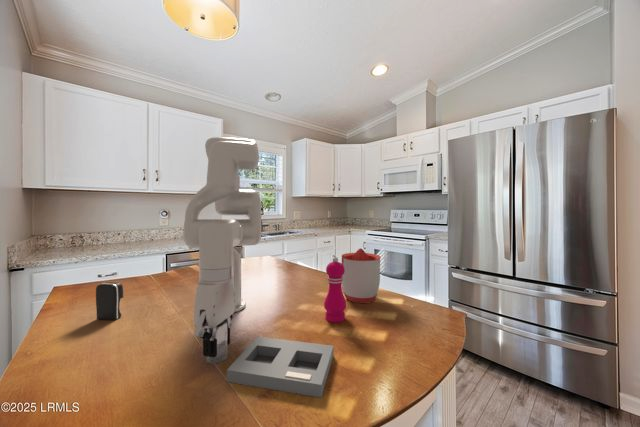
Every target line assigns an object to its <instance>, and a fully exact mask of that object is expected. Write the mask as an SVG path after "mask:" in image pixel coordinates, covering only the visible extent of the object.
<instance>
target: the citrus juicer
mask: <svg viewBox="0 0 640 427" xmlns="http://www.w3.org/2000/svg"><path fill="white" fill-rule="evenodd" d="M381 258H382V257H381V256H380V255H379V254H375V253H369V252H368V253H367V252H366V251H365V250H364V249H363V248H358V250H356V252H348V253H347V252H346V253H342V255H341V263H342V264H343V266H344V269H345V272H344V274H343V275H342V277H343V282H342V284H341V288H342V292H343V296H344V298H345V299H346V298H347V299H348V300H347V299H346V300H347V301H349V300H350V301H349V302H351V301H353V302H352V303H357V302H359V303H360V304H368V303H369V302H370V303H372V302H374V301H375V300H376V298H377V296H378V292H379V288H380V284H381V283H380V282H381V276H380V275H381ZM367 302H368V303H367Z"/></svg>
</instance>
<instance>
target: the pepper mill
mask: <svg viewBox="0 0 640 427" xmlns="http://www.w3.org/2000/svg"><path fill="white" fill-rule="evenodd" d="M325 271H326V275H327V282H328V292H327V294H326V297H325V299H324V303H323V307H324V309H325V320H326V321H328V322H330V323H341V322H343V321H344V320H345V318H346V316H345V310H346V308H347V301H346V297H345V295H344V292H343V288H342V282H343V277H342V275H343V274H344V272H345V269H344V266H343V264H342V262H339V258H338V257H336V256H335V257H333V258H332V261H331V262H329V263H328V264H327V265H326V268H325Z"/></svg>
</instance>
